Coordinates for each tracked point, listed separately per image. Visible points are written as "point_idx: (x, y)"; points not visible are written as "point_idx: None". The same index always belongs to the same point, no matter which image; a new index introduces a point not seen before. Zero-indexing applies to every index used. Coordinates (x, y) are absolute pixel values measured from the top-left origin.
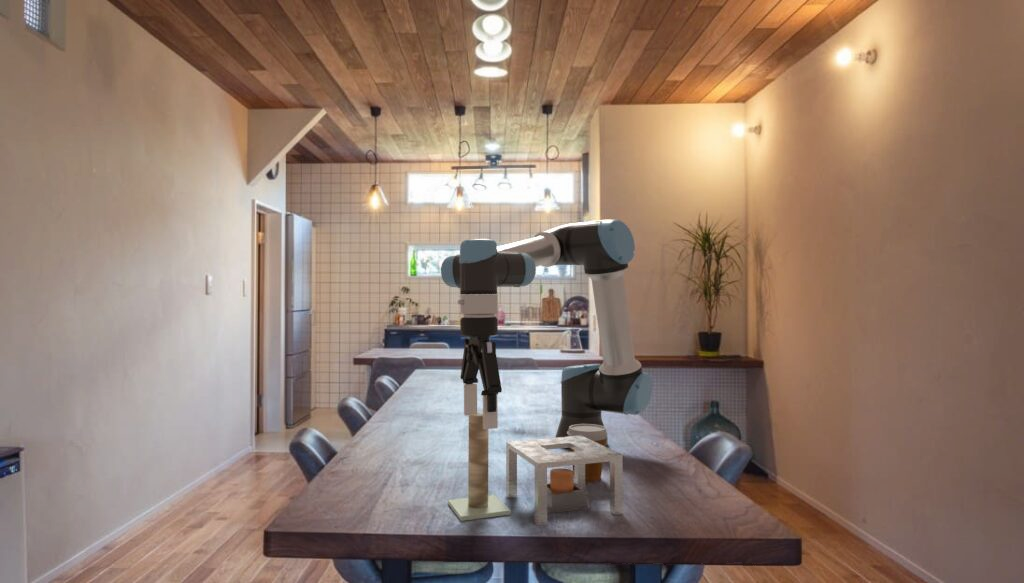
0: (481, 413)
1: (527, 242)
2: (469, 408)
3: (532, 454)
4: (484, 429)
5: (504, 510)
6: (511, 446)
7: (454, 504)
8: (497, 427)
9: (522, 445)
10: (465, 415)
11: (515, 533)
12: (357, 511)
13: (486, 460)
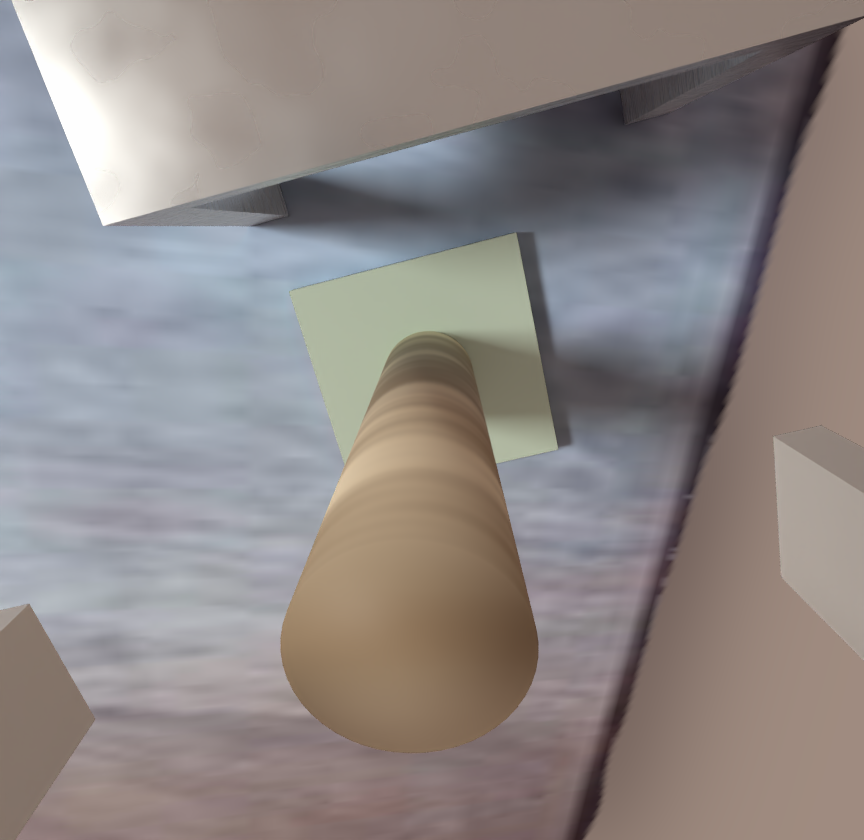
0: (294, 617)
1: None
2: (19, 745)
3: (574, 23)
4: (502, 514)
5: (512, 261)
6: (236, 190)
7: None
8: (823, 429)
9: (237, 80)
10: (91, 715)
11: (732, 233)
12: (410, 761)
13: (467, 399)
